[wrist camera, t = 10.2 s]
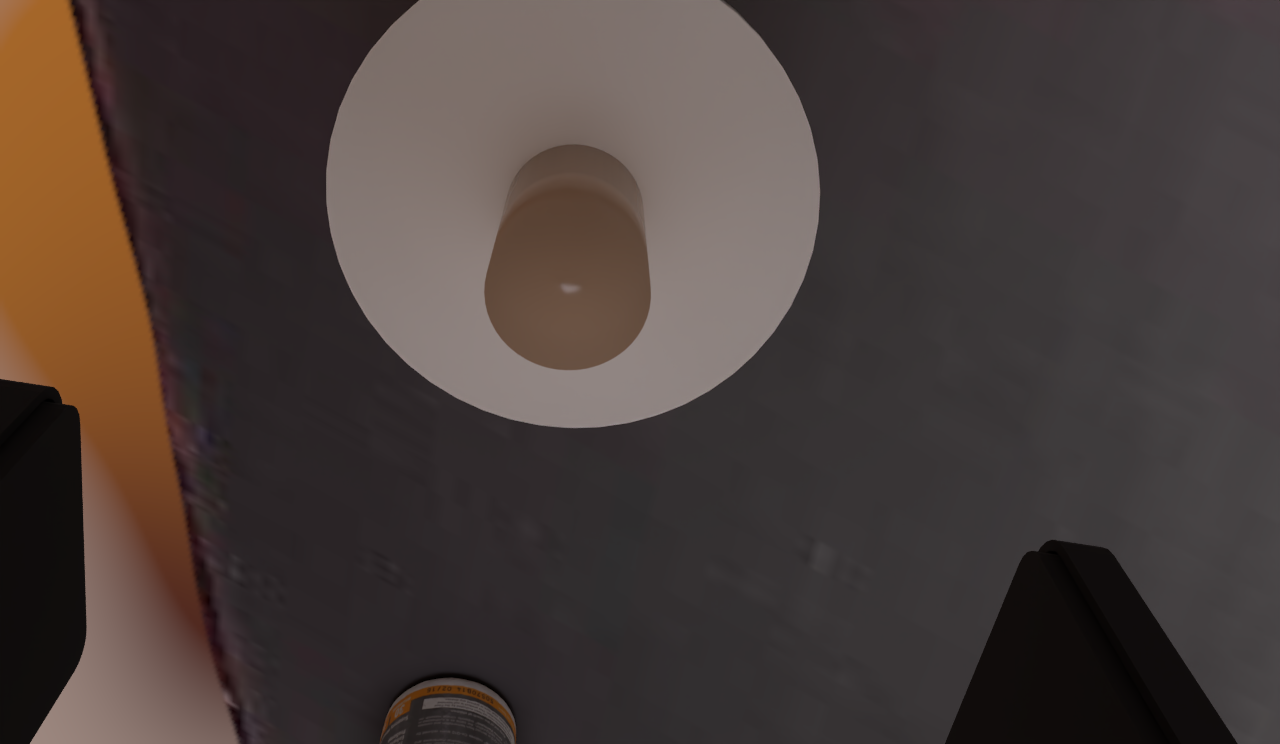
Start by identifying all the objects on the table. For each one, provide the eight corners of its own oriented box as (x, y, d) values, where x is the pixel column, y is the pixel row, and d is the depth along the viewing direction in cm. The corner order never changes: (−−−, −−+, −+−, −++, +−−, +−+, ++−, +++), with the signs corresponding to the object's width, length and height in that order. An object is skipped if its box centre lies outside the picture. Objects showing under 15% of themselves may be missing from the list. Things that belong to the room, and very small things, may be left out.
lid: (353, -99, 22) (278, -74, 17) (865, -3, 23) (938, 47, 18) (322, 372, 26) (255, 503, 21) (754, 435, 27) (787, 575, 22)
